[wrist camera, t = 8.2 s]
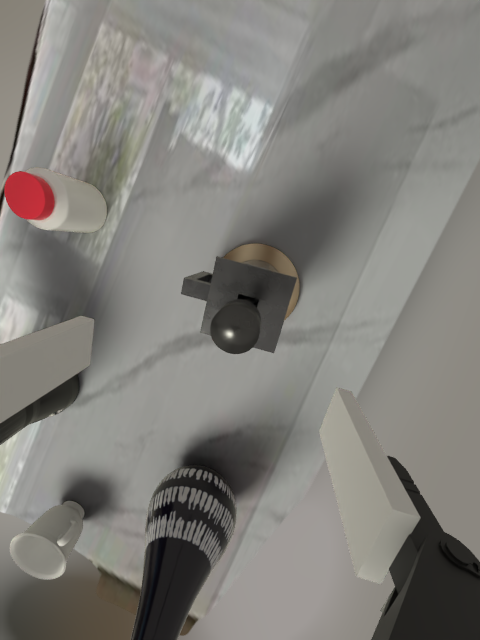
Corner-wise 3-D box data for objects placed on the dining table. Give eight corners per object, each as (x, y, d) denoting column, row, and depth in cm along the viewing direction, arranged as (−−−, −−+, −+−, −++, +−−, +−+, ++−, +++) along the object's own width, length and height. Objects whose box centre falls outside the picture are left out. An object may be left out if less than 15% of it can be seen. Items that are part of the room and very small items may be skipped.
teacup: (116, 514, 61) (86, 563, 51) (74, 536, 65) (39, 587, 55) (80, 476, 59) (42, 520, 50) (39, 502, 63) (-3, 547, 53)
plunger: (224, 308, 41) (183, 358, 23) (235, 262, 39) (200, 275, 21) (270, 320, 41) (266, 381, 22) (283, 274, 39) (291, 299, 20)
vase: (155, 490, 58) (39, 723, 29) (181, 435, 53) (75, 650, 25) (221, 522, 58) (170, 787, 29) (254, 471, 53) (230, 726, 25)
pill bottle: (54, 194, 44) (-16, 177, 33) (92, 173, 42) (32, 149, 32) (77, 240, 45) (17, 238, 35) (115, 222, 44) (64, 214, 33)
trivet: (204, 317, 46) (203, 318, 45) (223, 233, 42) (222, 233, 41) (284, 339, 45) (284, 340, 44) (310, 256, 41) (311, 256, 40)
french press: (200, 303, 44) (171, 325, 32) (212, 247, 42) (185, 247, 29) (274, 323, 44) (274, 354, 31) (291, 268, 41) (298, 277, 29)
